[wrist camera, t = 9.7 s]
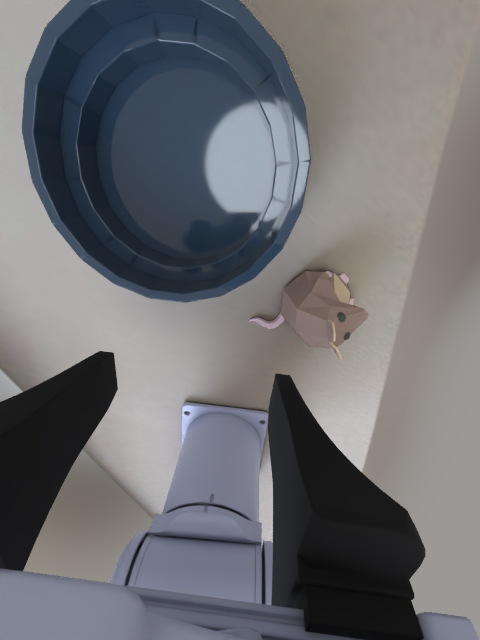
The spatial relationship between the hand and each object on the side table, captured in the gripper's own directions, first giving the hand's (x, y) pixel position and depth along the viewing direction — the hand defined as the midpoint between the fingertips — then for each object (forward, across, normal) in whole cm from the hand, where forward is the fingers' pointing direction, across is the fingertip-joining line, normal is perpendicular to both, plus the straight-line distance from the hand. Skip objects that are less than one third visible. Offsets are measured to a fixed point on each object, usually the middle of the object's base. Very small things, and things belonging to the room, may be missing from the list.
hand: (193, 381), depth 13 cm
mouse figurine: (+11, -6, 0) cm, 12 cm away
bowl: (+10, +3, -8) cm, 13 cm away
